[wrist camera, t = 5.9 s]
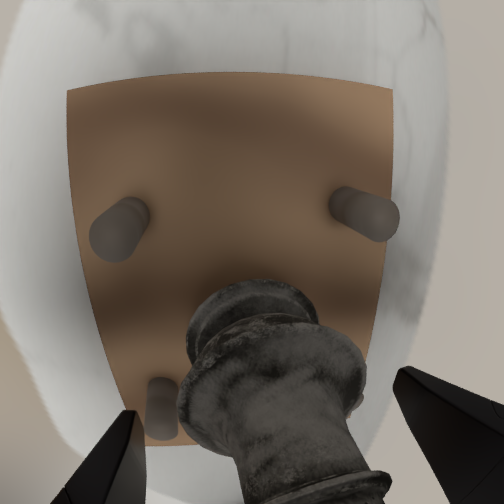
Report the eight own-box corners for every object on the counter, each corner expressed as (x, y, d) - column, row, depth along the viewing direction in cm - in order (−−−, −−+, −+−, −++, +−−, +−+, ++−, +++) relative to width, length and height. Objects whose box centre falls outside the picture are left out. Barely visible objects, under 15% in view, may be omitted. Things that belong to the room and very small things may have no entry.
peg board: (341, 403, 20) (367, 448, 16) (143, 429, 17) (140, 482, 13) (375, 92, 13) (434, 82, 9) (79, 95, 11) (33, 77, 6)
